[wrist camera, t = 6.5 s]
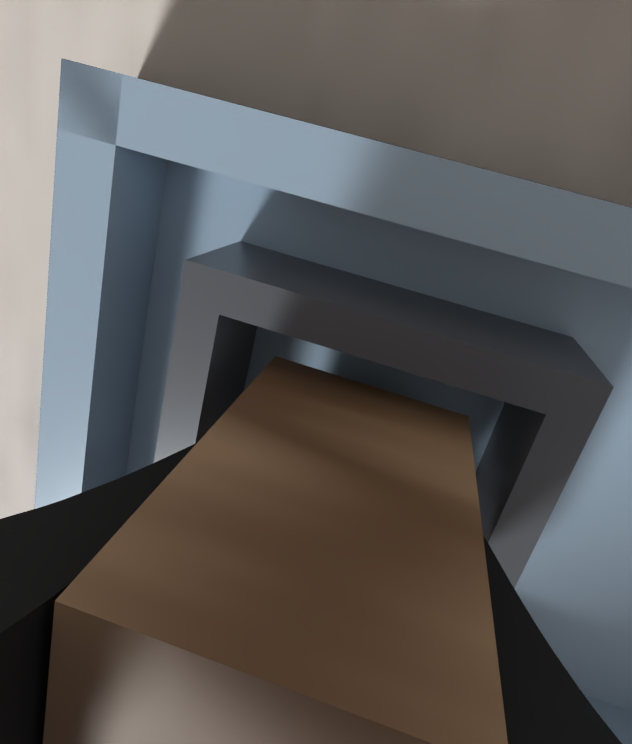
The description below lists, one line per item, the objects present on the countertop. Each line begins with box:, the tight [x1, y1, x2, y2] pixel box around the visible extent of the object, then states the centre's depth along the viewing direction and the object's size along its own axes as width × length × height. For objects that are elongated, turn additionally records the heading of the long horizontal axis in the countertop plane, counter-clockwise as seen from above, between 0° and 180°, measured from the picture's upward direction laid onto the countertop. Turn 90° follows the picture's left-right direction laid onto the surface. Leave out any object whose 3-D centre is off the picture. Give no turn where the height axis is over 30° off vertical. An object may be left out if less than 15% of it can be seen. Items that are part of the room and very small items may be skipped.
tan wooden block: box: [43, 356, 508, 744], centre depth 9 cm, size 4×4×7 cm
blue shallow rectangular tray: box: [34, 59, 632, 744], centre depth 12 cm, size 20×13×3 cm, turn 78°
